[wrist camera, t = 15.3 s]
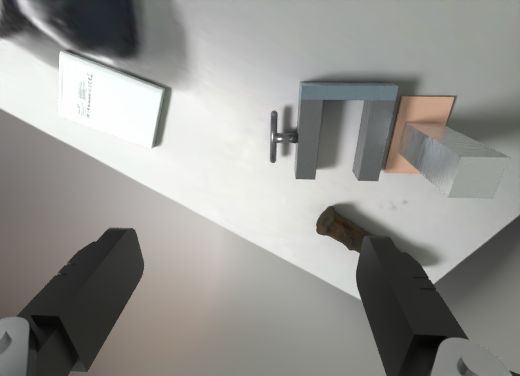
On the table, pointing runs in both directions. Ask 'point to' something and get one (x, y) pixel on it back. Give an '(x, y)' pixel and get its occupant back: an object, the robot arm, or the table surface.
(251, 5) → the table surface
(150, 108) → the external hard drive
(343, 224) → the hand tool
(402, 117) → the mat
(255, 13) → the table surface
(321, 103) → the vise
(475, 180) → the steel bar
